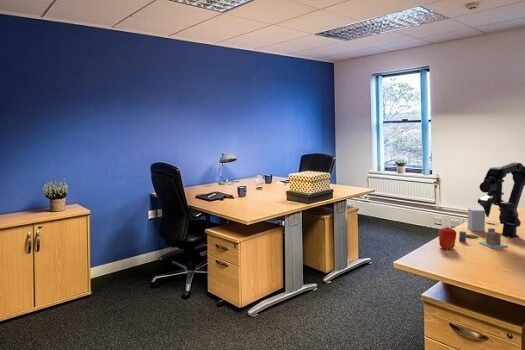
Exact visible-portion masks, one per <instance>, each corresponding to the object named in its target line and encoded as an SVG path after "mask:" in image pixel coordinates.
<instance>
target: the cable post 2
mask: <svg viewBox="0 0 525 350" xmlns="http://www.w3.org/2000/svg"><path fill="white" fill-rule="evenodd" d="M493 231H494V232H496V228H491V227H488V229H487V232H493Z"/></svg>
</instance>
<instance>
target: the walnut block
mask: <svg viewBox="0 0 525 350" xmlns="http://www.w3.org/2000/svg"><path fill="white" fill-rule="evenodd" d="M500 233H501V232H497V231H495V232H494V231H493V232H488V231H486V236H485V237H486V239H485V240H486V241H485V242H486V243H487V244H490V245H493V246H494V245H500V243H501V241H502V240H501V237H502V235H501V234H500Z"/></svg>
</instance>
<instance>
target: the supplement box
mask: <svg viewBox="0 0 525 350" xmlns="http://www.w3.org/2000/svg"><path fill="white" fill-rule="evenodd" d="M467 209H468V210H467V229H468V230H470V231H472V232H485V230H486V229H485V227H486V226H485V225H486V223H485V222H486V214H485V211H484V208H482V207H481V208H479V207H474V208H473V207H470V208H469V207H468V208H467Z"/></svg>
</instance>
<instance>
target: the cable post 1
mask: <svg viewBox="0 0 525 350" xmlns="http://www.w3.org/2000/svg"><path fill="white" fill-rule="evenodd" d="M458 238H459V240H458V241H459V242H462V243H463V242H465V243H466V242H467V240H466V239H467V232H466V231H463V230H462V231H459V236H458Z"/></svg>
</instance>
